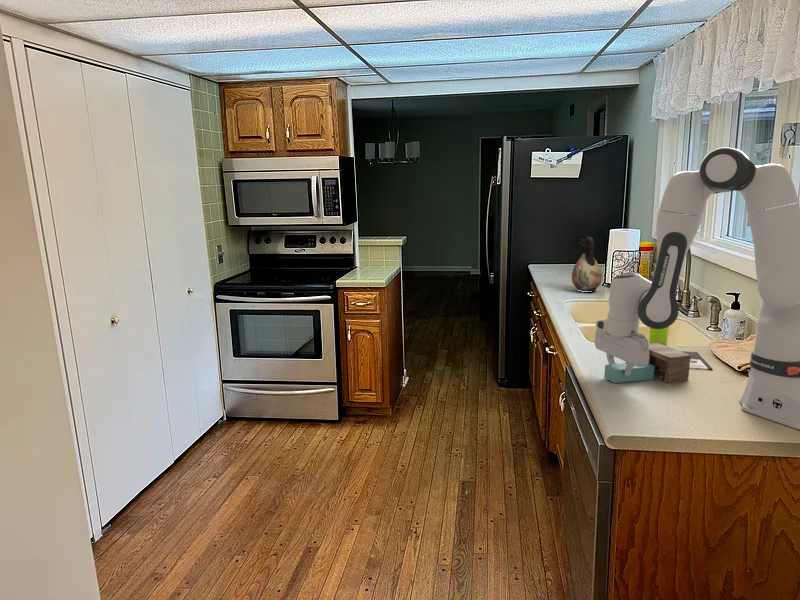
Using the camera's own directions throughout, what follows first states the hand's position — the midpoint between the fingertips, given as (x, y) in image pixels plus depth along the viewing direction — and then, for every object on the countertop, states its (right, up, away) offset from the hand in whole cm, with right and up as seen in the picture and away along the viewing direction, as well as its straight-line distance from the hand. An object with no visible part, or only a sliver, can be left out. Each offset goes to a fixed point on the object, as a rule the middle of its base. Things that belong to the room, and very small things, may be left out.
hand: (619, 371), depth 172 cm
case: (+3, -2, +2) cm, 4 cm away
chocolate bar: (+31, +1, +19) cm, 36 cm away
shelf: (+15, -2, +5) cm, 16 cm away
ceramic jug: (+34, +26, +134) cm, 140 cm away
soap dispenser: (+28, +5, +35) cm, 45 cm away
